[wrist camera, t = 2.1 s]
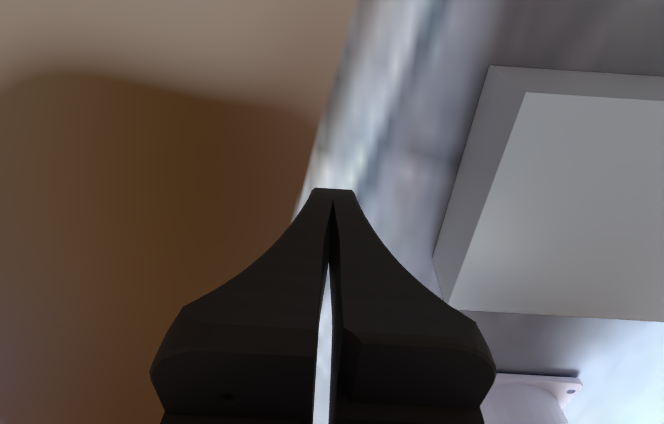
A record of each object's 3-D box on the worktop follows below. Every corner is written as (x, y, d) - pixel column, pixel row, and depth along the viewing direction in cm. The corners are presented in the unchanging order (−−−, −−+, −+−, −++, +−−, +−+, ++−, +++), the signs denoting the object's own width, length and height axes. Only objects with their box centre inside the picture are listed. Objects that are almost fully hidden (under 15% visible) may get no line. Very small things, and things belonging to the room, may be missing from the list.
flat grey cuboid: (716, 276, 17) (776, 328, 15) (431, 259, 17) (446, 309, 15) (894, 91, 12) (1031, 125, 10) (489, 65, 12) (525, 92, 10)
